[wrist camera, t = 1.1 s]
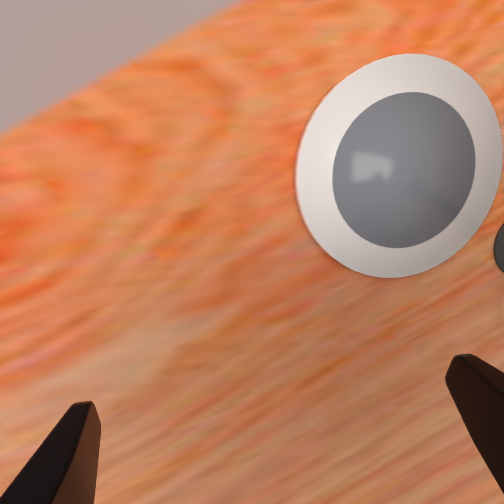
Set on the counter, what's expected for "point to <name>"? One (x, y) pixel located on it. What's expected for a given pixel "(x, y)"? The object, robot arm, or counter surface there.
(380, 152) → the serving plate
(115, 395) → the counter surface
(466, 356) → the robot arm
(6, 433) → the counter surface
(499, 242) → the sundae
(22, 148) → the counter surface
